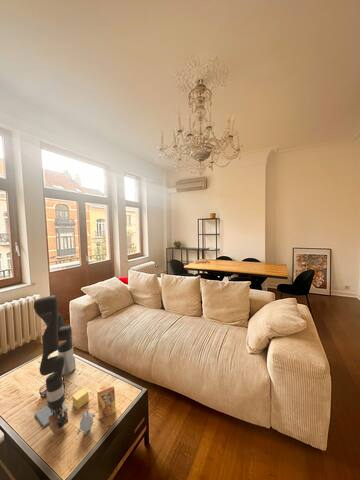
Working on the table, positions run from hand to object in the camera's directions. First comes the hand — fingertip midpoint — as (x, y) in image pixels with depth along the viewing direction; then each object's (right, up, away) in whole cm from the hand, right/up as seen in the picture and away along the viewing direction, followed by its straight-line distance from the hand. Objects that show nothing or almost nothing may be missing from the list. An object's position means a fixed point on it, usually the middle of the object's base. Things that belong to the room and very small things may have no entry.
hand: (58, 423), depth 105 cm
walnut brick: (0, -1, 0) cm, 1 cm away
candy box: (+22, -2, +9) cm, 24 cm away
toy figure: (+15, -3, -1) cm, 16 cm away
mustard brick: (+4, -2, +16) cm, 16 cm away
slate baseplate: (-10, -3, +10) cm, 14 cm away
